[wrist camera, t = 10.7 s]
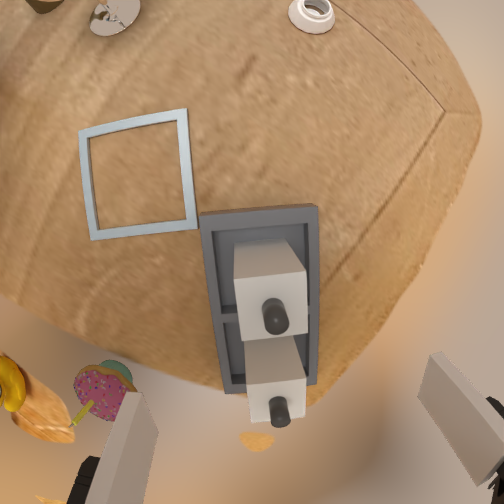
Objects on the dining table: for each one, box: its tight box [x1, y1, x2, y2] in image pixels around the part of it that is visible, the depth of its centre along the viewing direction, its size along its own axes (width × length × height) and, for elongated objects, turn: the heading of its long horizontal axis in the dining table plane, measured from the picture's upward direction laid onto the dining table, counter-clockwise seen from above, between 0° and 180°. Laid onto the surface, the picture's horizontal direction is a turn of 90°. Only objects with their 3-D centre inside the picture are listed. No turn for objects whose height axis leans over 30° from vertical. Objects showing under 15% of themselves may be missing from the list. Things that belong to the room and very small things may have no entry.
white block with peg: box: [234, 238, 308, 341], centre depth 25 cm, size 5×5×12 cm
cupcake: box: [68, 360, 137, 428], centre depth 29 cm, size 9×8×12 cm
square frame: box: [78, 108, 198, 241], centre depth 28 cm, size 12×12×1 cm
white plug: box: [244, 335, 306, 428], centre depth 27 cm, size 5×5×12 cm
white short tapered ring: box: [288, 0, 335, 34], centre depth 23 cm, size 5×3×5 cm
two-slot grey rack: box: [199, 203, 319, 394], centre depth 31 cm, size 11×21×2 cm, turn 5°
